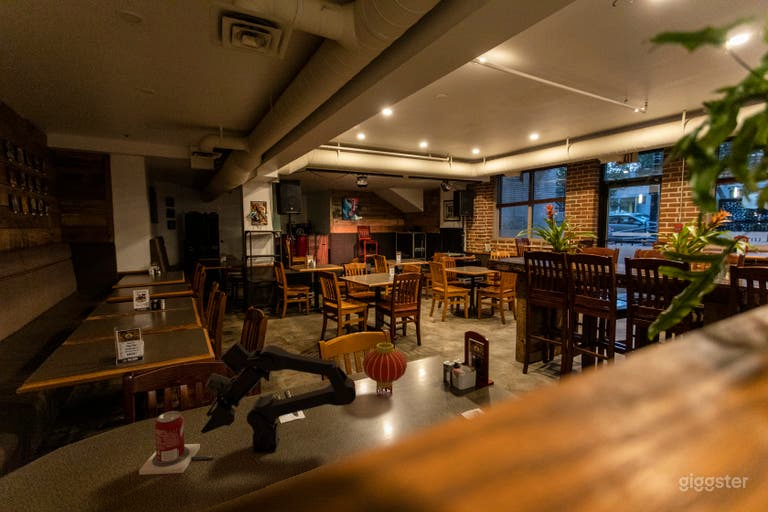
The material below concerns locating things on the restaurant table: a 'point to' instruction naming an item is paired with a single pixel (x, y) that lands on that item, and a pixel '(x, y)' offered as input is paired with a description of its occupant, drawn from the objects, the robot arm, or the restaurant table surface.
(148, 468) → the charging dock
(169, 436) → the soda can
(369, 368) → the lantern
